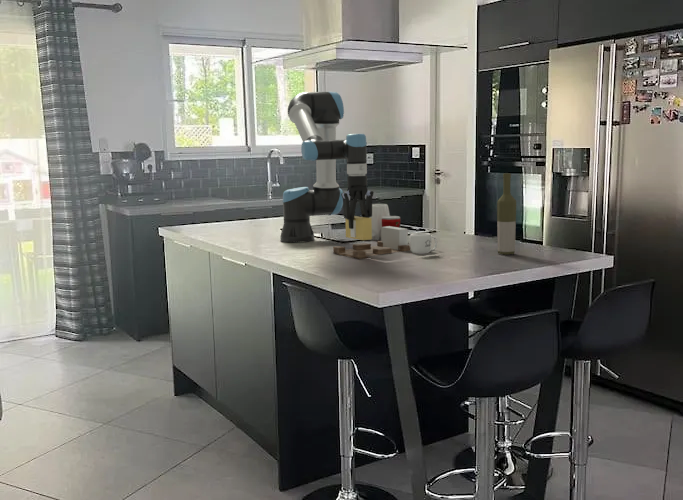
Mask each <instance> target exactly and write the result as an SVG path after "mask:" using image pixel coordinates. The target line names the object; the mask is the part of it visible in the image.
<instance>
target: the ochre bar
mask: <svg viewBox="0 0 683 500" xmlns="http://www.w3.org/2000/svg"><path fill="white" fill-rule="evenodd" d="M344 219H345V218H344ZM354 220H356V237H355V238H354V237H351V229H350V228H349V220H347V219H345V222H344V223H345V238H349V239H354V240H360V241H371V240H370V239H372V218H366V217H362V216H357V215H354Z"/></svg>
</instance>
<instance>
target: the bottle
mask: <svg viewBox="0 0 683 500" xmlns="http://www.w3.org/2000/svg"><path fill="white" fill-rule="evenodd" d="M502 174H503V175H502V178H503V186H502V187H503V190H502V191H503V193H502V195H501V196H500V197H499V198H498V200H497V201H496V202H497V203H496V204H497V205H496V216H497V217H496V218H497V219H496V220H497V221H496V222H497V225H496V227H497V231H496V232H497V233H496V234H497V254H499V255H501V254H502V255H503V256H511V255H510V254H512V255H514V254H515V251H516V228H517V227H516V225H517V224H516V222H517V200H516V199H515V198H514V197H513V195H512V193H511V181H512V179H511V178H512V175H511V172H510V173H509V172H505V173H502Z"/></svg>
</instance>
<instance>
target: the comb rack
mask: <svg viewBox="0 0 683 500" xmlns="http://www.w3.org/2000/svg"><path fill="white" fill-rule="evenodd" d="M376 241H377V243H376V245H373V246H372V244H371V243H367V242H363V243H353V244H351V245H352V248H349V249H346V247H345V246H341V245H339V246H338V245H337V246H333V249H332V250H333V251H332V252H333V254H335V255H340V256H343V257H348V258H352V259H357V260H365V259H371V257H372V256H379V255H386V254H387V255H388V254H392V253H393V254H394V253H401V252H408V251H410V252H411V249H410V245H409V244H408V245H400V246H399V247H400V249H399V248H398V250H396V249H392V248H389V247H383V242H381V240H376Z"/></svg>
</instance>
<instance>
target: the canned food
mask: <svg viewBox="0 0 683 500" xmlns="http://www.w3.org/2000/svg"><path fill="white" fill-rule="evenodd" d="M386 226H392V227H398V228H402V227H401V216H398V215H390V216H384V217H382V227H386Z"/></svg>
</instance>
